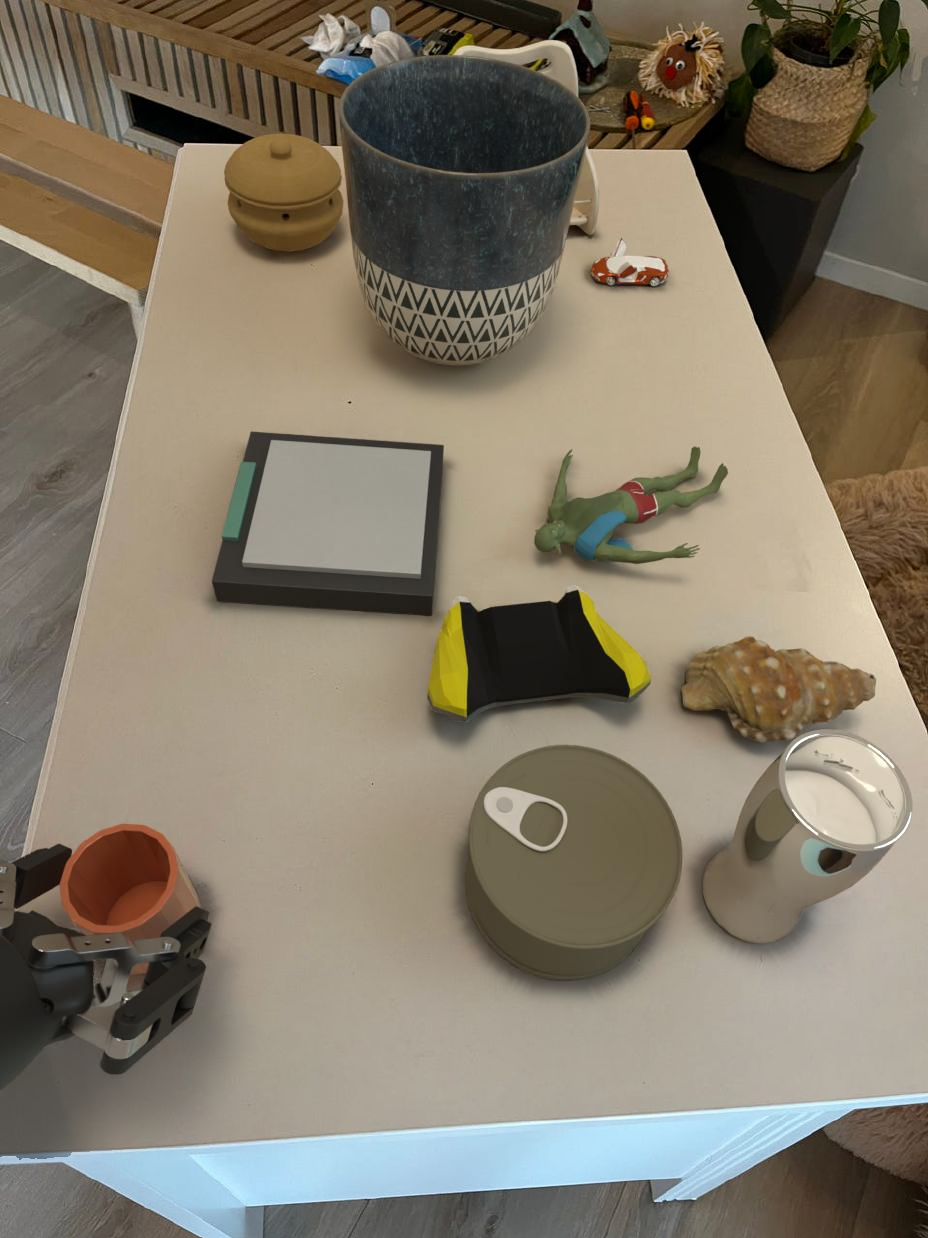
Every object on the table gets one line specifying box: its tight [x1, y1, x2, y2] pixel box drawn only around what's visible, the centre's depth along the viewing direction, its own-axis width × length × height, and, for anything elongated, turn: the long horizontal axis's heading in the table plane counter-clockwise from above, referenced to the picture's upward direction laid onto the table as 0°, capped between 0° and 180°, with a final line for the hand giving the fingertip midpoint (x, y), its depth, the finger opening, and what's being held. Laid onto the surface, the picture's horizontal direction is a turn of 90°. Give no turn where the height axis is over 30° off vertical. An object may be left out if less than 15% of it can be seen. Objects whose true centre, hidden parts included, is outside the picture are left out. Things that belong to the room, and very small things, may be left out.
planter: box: [338, 54, 591, 367], centre depth 79 cm, size 20×20×21 cm
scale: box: [211, 431, 445, 616], centre depth 72 cm, size 16×16×3 cm
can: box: [464, 744, 683, 981], centre depth 54 cm, size 12×12×7 cm
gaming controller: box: [426, 583, 652, 723], centre depth 63 cm, size 15×6×10 cm
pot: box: [223, 133, 344, 252], centre depth 93 cm, size 12×12×10 cm
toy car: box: [590, 237, 669, 288], centre depth 95 cm, size 5×8×3 cm, turn 92°
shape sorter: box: [452, 39, 600, 235], centre depth 94 cm, size 20×10×18 cm, turn 104°
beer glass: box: [701, 728, 914, 945], centre depth 51 cm, size 7×7×15 cm
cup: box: [59, 823, 202, 975], centre depth 50 cm, size 6×6×8 cm
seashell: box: [680, 635, 877, 743], centre depth 63 cm, size 9×8×10 cm
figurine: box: [533, 446, 729, 565], centre depth 74 cm, size 16×4×18 cm
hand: (130, 892), depth 49 cm, fingers open, 8 cm apart
